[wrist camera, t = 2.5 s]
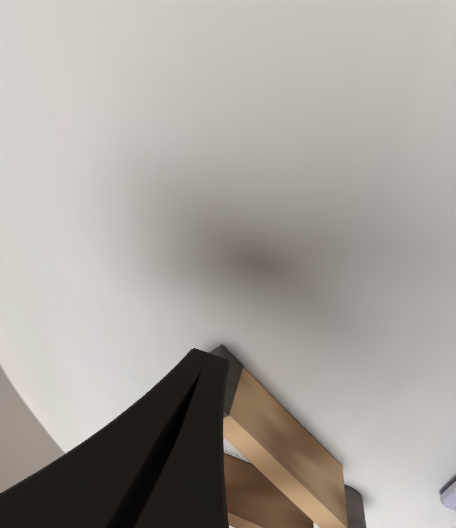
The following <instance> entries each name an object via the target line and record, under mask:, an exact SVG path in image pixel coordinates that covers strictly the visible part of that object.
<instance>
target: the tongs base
mask: <svg viewBox="0 0 456 528" xmlns="http://www.w3.org/2000/svg"><path fill="white" fill-rule="evenodd" d="M224 474H225V489H226V502H227V512H228V523H229V525H230V526H232V527H235V528H313V521H312V520H311V519H310V518H309V517H308V516H307V515H306V514H305V513H304V512H303V511H302V510H301V509H300V508H299V507H298V506H296V505H295V504H294V503H293V502H292V501H291V500H290V499H289V498H288V497H287V496H286V495H285V494H284V493H283V492H282V491H281V490H279V489H278V488H277V487H276V486H275V485H274V484H273V483H272V482H271V481H270V480H269V479H268V478H267V477H266V476H265V475H264V474H262V473H261V472H260V471H259V470H258V469H257V468H256V467H255V466H254V465H251V464H249V463H246V462H244V461H241V460H239V459H236V458H234V457H232V456H229V455H227V454H224ZM344 490H345V500H346V511H347V522H348V528H366V522H365V515H364V507H363V500H362V496H361V495H360V493H358V492H357V491H356V490H354V489H353V488H351V487H348V486H344Z"/></svg>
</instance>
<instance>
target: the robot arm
mask: <svg viewBox="0 0 456 528" xmlns="http://www.w3.org/2000/svg"><path fill="white" fill-rule="evenodd" d="M230 364H231V363H230V362H229V360H228V359H225V358H222V357H219V356H216V355H213V354H210V353H207V352H204V351H201V350H198V349H195V348H194V349H191V350H190V351H189V352H188V354H187V355H186V356H185V357H184V358H183V359H182V360H181V361H180V362H179V363H178V364H177V365H176V366H175V367H174V368H173V369H172V370H171V371H170V372H169V373H168V374H167V375H166V376H165V377H164V378H163V379H162V380H161V381H160V382H158V383H157V384H156V385H155V386H154V387H153V388H152V389H151V390H150V391H149V392H147V393H146V394H145V395H144V396H143V397H142V398H140V399H139V400H138V401H137V402H135V403H134V404H133V405H132V406H131V407H129V408H128V409H127V410H126V411H124V412H123V413H122V414H121V415H119V416H118V417H117V418H116V419H114V420H113V421H112V422H110V423H109V424H108V425H106V426H105V427H104V428H102V429H101V430H100V431H98V432H97V433H95V434H94V435H92V436H91V437H90V438H88V439H87V440H85V441H84V442H83V443H81V444H80V445H78V446H77V447H75V448H73V449H72V450H70V451H69V452H67V453H66V454H64V455H63V456H62V457H60V458H58V459H57V460H55V461H54V462H52V463H51V464H49V465H48V466H46V467H44V468H43V469H41V470H39V471H38V472H36V473H34V474H33V475H31V476H29V477H28V478H26V479H24V480H23V481H21V482H19V483H18V484H16V485H14V486H12V487H10V488H9V489H7V490H5V491H4V492H2V493H0V528H229V523H228V512H227V502H226V489H225V474H224V450H223V417H224V396H225V386H226V380H227V376H228V372H229V368H230ZM440 498H441V501H442V504H443V505H444V506H445V507H447V508H449V509H452V510H454V511H456V481H455V482H454V483H453V484H452V485H451V486H450V487H449V488H448V489H447V490H446V491H445V492H444V493H443V494H441V496H440Z"/></svg>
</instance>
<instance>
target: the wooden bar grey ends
mask: <svg viewBox="0 0 456 528" xmlns="http://www.w3.org/2000/svg"><path fill="white" fill-rule="evenodd" d="M210 354H213V355H216V356H219V357H222V358H225V359H228V360H229V362H230V363H231V364H230V368H229V372H228V376H227V380H226V386H225V396H224V417H223V437H224V438H225V439H226V440H227V441H229V442H230V443H231V444H232V445H233V446H234V447H235V448H236V449H237V450H238V451H239V452H240V453H241V454H242V455H243V456H244V457H245V458H247V459H248V460H249V461H250V462H251V463H252V464H253V465H254V466H255V467H256V468H257V469H258V470H259V471H260V472H261V473H262V474H264V475H265V476H266V477H267V478H268V479H269V480H270V481H271V482H272V483H273V484H274V485H275V486H276V487H277V488H278V489H279V490H281V491H282V492H283V493H284V494H285V495H286V496H287V497H288V498H289V499H290V500H291V501H292V502H293V503H294V504H295V505H296V506H298V507H299V508H300V509H301V510H302V511H303V512H304V513H305V514H306V515H307V516H308V517H309V518H310V519H311V520H312V521H313V522H315V523H316V524H317V525H318V526H319V527H320V528H348V522H347V511H346V500H345V490H344V479H343V468H342V465H341V464H340V463H339V462H338V461H337V460H336V459H335V458H334V457H333V456H332V455H331V454H330V453H329V452H328V451H327V450H326V449H325V448H324V447H323V446H322V445H321V444H320V443H319V442H318V441H317V440H316V439H315V438H314V437H313V436H312V435H311V434H310V433H309V432H308V431H307V430H306V429H305V428H304V427H303V426H302V425H301V424H300V423H299V422H298V421H297V420H296V419H295V418H294V417H293V416H292V415H291V414H290V413H289V412H288V411H287V410H286V409H285V408H284V407H283V406H282V405H281V404H280V403H279V402H278V401H277V400H276V399H275V398H274V397H273V396H272V395H271V394H270V393H269V392H268V391H267V390H266V389H265V388H264V387H263V386H262V385H261V384H260V383H259V382H258V381H257V380H256V379H255V378H254V377H253V376H252V375H251V374H250V373H249V372H248V371H247V370H246V369H245V368H244V366H243V365H242V364H241V363H240V362H239V361H238V360H237V359H236V358H235V357H234V356H233V355H232V354H231V353H230V352H229V351H228V350H227V349H226V348H225V347H224V346H223V345H221V346H220V347H218V348H217V349H215V350H214V351H212V352H210Z"/></svg>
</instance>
